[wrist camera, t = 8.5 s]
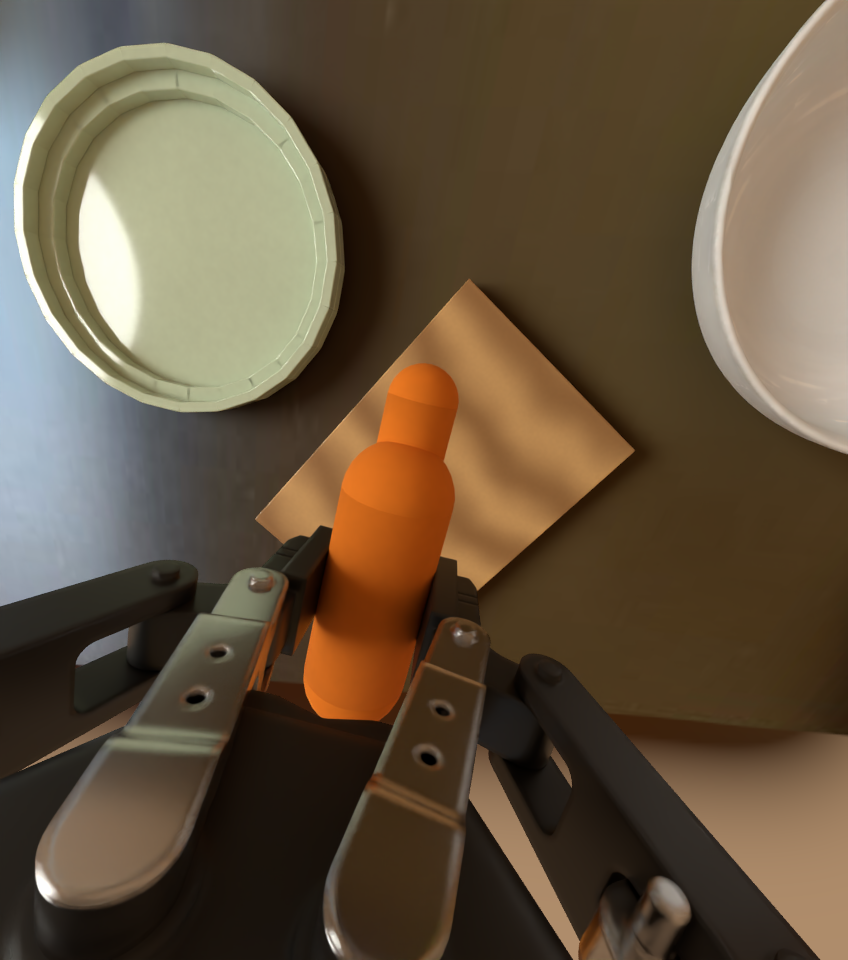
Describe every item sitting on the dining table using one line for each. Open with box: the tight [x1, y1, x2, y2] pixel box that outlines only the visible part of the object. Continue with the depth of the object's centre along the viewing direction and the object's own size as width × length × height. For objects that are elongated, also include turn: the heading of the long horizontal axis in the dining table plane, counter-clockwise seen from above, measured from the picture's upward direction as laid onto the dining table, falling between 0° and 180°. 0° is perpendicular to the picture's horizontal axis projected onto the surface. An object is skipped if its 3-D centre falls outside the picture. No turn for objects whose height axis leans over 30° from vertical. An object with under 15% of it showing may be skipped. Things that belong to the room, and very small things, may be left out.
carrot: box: [304, 363, 459, 721], centre depth 13 cm, size 13×3×3 cm, turn 166°
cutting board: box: [255, 279, 635, 645], centre depth 28 cm, size 20×14×2 cm
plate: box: [14, 43, 345, 412], centre depth 25 cm, size 18×18×2 cm
